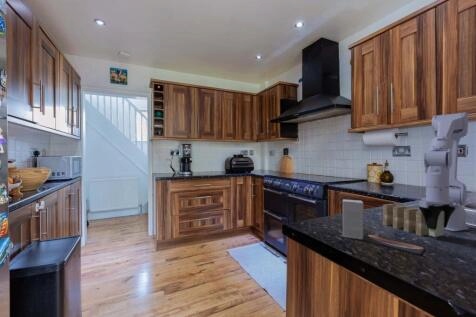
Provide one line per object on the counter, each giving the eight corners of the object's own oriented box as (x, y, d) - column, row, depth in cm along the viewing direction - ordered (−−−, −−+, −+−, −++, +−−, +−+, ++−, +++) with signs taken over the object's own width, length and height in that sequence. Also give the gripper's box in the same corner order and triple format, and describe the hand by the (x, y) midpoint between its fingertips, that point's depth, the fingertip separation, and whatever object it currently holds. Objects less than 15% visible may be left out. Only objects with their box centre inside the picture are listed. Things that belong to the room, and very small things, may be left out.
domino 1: (382, 224, 89) (383, 204, 89) (391, 223, 90) (391, 203, 90) (386, 225, 87) (387, 205, 87) (395, 224, 89) (395, 204, 89)
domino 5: (444, 235, 74) (444, 211, 74) (434, 236, 72) (434, 212, 72) (438, 233, 75) (438, 210, 75) (428, 235, 74) (429, 211, 74)
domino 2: (392, 227, 85) (393, 206, 85) (401, 226, 87) (402, 205, 87) (397, 228, 83) (397, 207, 83) (406, 227, 85) (406, 206, 85)
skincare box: (362, 236, 75) (362, 200, 75) (363, 240, 71) (363, 202, 71) (342, 233, 77) (342, 198, 77) (342, 237, 73) (342, 201, 73)
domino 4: (415, 234, 77) (416, 211, 77) (425, 232, 79) (425, 210, 79) (420, 235, 76) (421, 212, 76) (430, 234, 78) (430, 211, 78)
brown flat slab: (369, 234, 76) (425, 247, 65) (369, 236, 76) (425, 250, 65) (360, 238, 71) (420, 254, 60) (360, 241, 71) (420, 257, 60)
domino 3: (403, 230, 81) (404, 208, 81) (412, 229, 83) (413, 208, 83) (408, 232, 80) (408, 209, 80) (417, 230, 81) (417, 209, 81)
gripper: (436, 185, 80) (436, 222, 80) (409, 186, 75) (409, 226, 75) (462, 187, 73) (461, 228, 73) (434, 188, 68) (433, 233, 68)
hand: (436, 227), depth 74 cm, fingers closed on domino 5, 5 cm apart
